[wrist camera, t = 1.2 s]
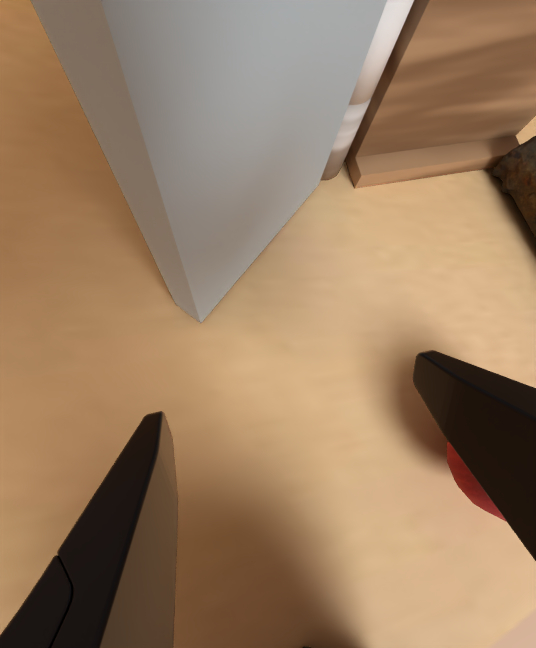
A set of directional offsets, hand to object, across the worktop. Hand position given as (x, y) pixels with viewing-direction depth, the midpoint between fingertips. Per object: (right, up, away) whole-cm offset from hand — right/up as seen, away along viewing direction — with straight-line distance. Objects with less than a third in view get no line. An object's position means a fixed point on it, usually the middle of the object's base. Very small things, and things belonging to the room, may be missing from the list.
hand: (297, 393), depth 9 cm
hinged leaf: (-1, +9, +15) cm, 17 cm away
